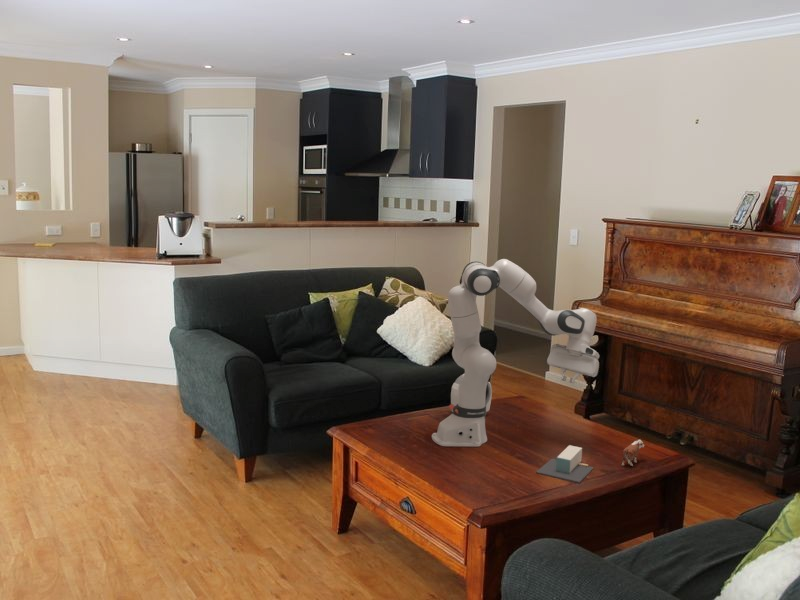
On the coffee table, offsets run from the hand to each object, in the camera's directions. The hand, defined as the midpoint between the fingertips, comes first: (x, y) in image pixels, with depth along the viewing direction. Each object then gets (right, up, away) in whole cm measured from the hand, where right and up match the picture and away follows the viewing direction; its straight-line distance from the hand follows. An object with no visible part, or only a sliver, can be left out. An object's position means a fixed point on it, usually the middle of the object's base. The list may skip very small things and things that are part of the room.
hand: (567, 381), depth 305 cm
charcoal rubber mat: (-6, -30, -23) cm, 39 cm away
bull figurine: (+22, -30, -12) cm, 39 cm away
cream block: (0, -25, -14) cm, 29 cm away
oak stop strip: (-2, -29, -16) cm, 34 cm away
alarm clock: (-35, -20, +39) cm, 56 cm away
